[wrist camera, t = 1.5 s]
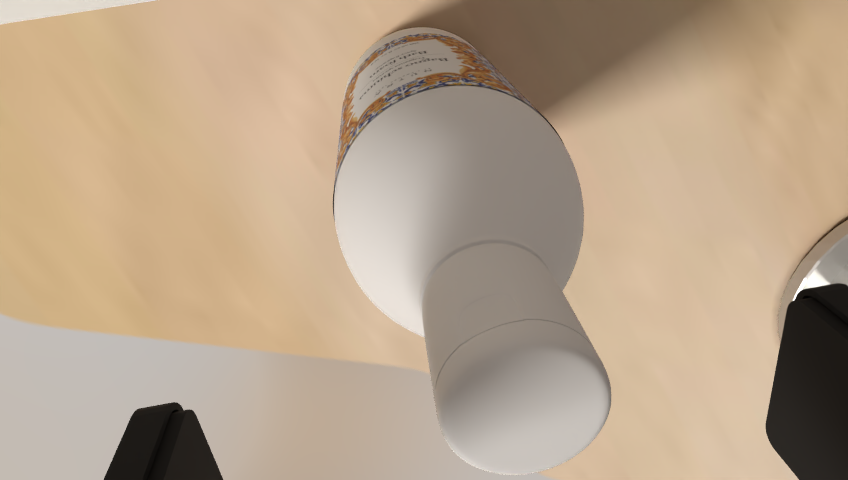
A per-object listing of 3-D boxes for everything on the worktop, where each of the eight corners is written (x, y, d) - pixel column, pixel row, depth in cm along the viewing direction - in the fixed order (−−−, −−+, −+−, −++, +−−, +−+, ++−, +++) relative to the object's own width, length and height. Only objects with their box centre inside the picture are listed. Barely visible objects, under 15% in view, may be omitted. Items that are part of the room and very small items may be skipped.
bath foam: (464, -3, 26) (697, 144, 8) (514, 141, 29) (762, 478, 11) (316, 63, 26) (227, 334, 9) (381, 197, 29) (413, 598, 12)
